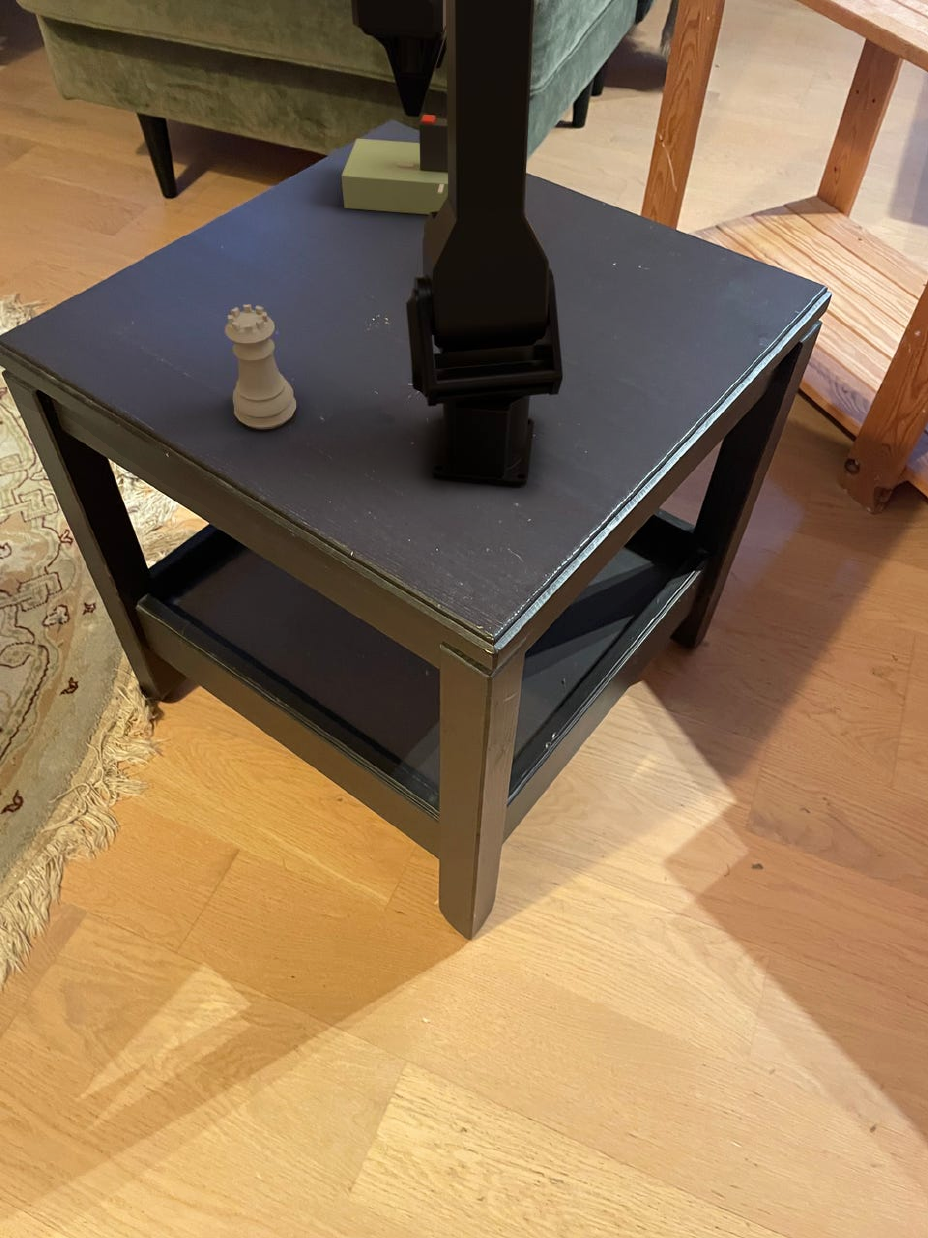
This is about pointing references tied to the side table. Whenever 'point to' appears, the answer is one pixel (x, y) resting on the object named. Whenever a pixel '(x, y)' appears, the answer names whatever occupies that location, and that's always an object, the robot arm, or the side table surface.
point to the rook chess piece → (258, 371)
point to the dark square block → (433, 144)
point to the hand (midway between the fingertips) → (423, 90)
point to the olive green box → (391, 179)
